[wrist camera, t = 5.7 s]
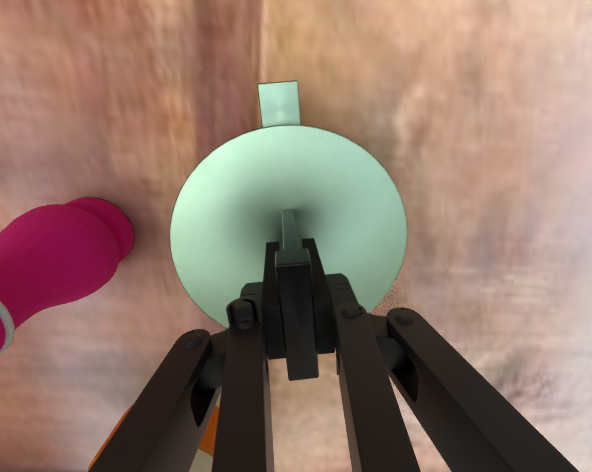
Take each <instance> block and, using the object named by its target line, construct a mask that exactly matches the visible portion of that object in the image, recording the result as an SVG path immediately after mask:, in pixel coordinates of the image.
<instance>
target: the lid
mask: <svg viewBox="0 0 592 472" xmlns="http://www.w3.org/2000/svg"><path fill="white" fill-rule="evenodd" d="M307 238H314V239H315V243H316V246H317V249H318V253H319V256H320V259H321V263H322V266H323V269H324V273H325V275H326V274H336V273H342V274H343V275H345V276H346V277H347V278H348V280H349V282H350V285H351V287H352V289H353V292H354V294H355V296H356V298H357V301H358V303H359V305H361V306H363V307H364V308H365V310H366V311H367V313H370V312H371V311H372V310H373V309H374V308H375V307H376V306H377V305H378V304H379V303H380V302H381V301H382V299H383V298H384V297H385V295H386V294H387V293H388V292H389V290H390V288H391V287H392V285H393V283H394V282H395V280H396V278H397V276H398V273H399V271H400V269H401V266H402V263H403V259H404V255H405V251H406V243H407V221H406V214H405V209H404V206H403V202H402V199H401V196H400V194H399V191H398V189H397V187H396V185H395V183H394V181H393V180H392V178H391V177H390V175H389V174H388V172H387V171H386V169H385V168H384V167H383V166H382V165H381V164H380V163H379V161H378V160H377V159H376V158H375V157H374V156H373V155H371V154H370V153H369V152H368V151H367V150H365V149H364V148H363V147H361V146H360V145H358V144H357V143H355V142H353V141H352V140H350V139H348V138H346V137H344V136H342V135H339V134H337V133H335V132H332V131H329V130H325V129H321V128H318V127H314V126H305V125H297V124H292V125H274V126H268V127H262V128H258V129H255V130H252V131H249V132H245V133H243V134H241V135H239V136H237V137H235V138H232V139H230V140H228V141H227V142H225V143H224V144H222V145H221V146H219V147H217V148H216V149H214V150H213V151H212V152H211V153H210V154H209V155H207V156H206V157H205V158H204V159H203V160H202V161H201V162H200V163H199V164H198V165H197V166H196V168H195V169H194V170H193V171H192V172H191V174H190V175H189V176H188V178H187V180H186V181H185V183H184V185H183V186H182V188H181V190H180V192H179V195H178V197H177V199H176V202H175V205H174V209H173V213H172V217H171V224H170V249H171V254H172V259H173V263H174V266H175V269H176V272H177V275H178V277H179V279H180V281H181V283H182V285H183V287H184V289H185V290H186V292H187V293H188V294H189V296H190V297H191V299H192V300H193V301H194V302H195V303H196V305H197V306H198V307H199V308H200V309H201V310H202V311H203V312H204V313H206V314H207V315H208V316H209V317H210V318H211V319H213V320H214V321H216V322H217V323H219V324H220V325H222V326H223V327H225V328H227V329H228V328H229V322H228V317H227V312H226V307H227V305H228V304H229V303H230V302H231V301H233V300H235V299H238V298H240V293H241V289H242V288H243V287H244V285H245V284H246V283H253V282H263V275H264V263H265V252H266V242H277V241H279V247H280V251H276V252H275V271H276V279H277V287H278V296H279V301H280V310H281V318H282V326H283V334H284V343H285V351H286V362H287V370H288V378H289V381H293V380H302V379H311V378H318V377H319V370H318V356H317V346H316V331H315V317H314V302H313V283H312V268H311V260H310V256H309V251H308V249H307V248H302V239H307Z"/></svg>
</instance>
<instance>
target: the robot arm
mask: <svg viewBox="0 0 592 472" xmlns="http://www.w3.org/2000/svg"><path fill="white" fill-rule="evenodd" d="M302 248H307V249H308V251H309V256H310V260H311V268H312V283H313V302H314V317H315V331H316V346H317V354H327V353H335V349H336V365H337V375H338V376H339V383H340V390H341V396H342V403H343V410H344V417H345V424H346V431H347V437H348V444H349V451H350V458H351V465H352V472H421V471H420V468H419V465H418V462H417V459H416V457H415V454H414V451H413V448H412V445H411V442H410V439H409V436H408V433H407V430H406V427H405V424H404V421H403V418H402V415H401V412H400V409H399V406H398V403H397V400H396V397H395V394H394V391H393V388H392V385H391V382H390V379H389V376H390V378H391V379H392V381H393V383H394V384H395V386H396V387H397V389H398V390H399V392H400V393H401V395H402V396H403V398H404V399H405V401H406V402H407V404H408V406H409V407H410V409H411V410H412V412H413V413H414V415H415V416H416V418H417V419H418V421H419V422H420V424H421V425H422V427H423V429H424V430H425V432H426V433H427V435H428V436H429V438H430V439H431V441H432V442H433V444H434V445H435V447H436V448H437V450H438V452H439V453H440V455H441V456H442V458H443V459H444V461H445V462H446V464H447V465H448V467H449V468H450V470H451V471H452V472H579V471H578V470H577V469H576V468H575V467H574V466H573V465H572V464H571V463H570V462H569V461H568V460H567V459H566V458H565V457H564V456H563V455H562V454H561V453H560V452H559V451H558V450H557V449H556V448H555V447H554V446H553V445H552V444H551V443H550V442H549V441H548V440H547V439H546V438H545V437H544V436H543V435H541V434H540V433H539V432H538V431H537V430H536V429H535V428H534V427H533V426H532V425H531V424H530V423H529V422H528V421H527V420H526V419H525V418H524V417H523V416H522V415H521V414H520V413H519V412H518V411H517V410H516V409H515V408H514V407H513V406H512V405H511V404H510V403H509V402H508V401H507V400H506V399H505V398H504V397H503V396H502V395H501V394H500V393H499V392H498V391H497V390H496V389H495V388H494V387H493V386H492V385H491V384H490V383H489V382H488V381H487V380H486V379H485V378H484V377H483V376H482V375H480V374H479V373H478V372H477V371H476V370H475V369H474V368H473V367H472V366H471V365H470V364H469V363H468V362H467V361H466V360H465V359H464V358H463V357H462V356H461V355H460V354H459V353H458V352H457V351H456V350H455V349H454V348H453V347H452V346H451V345H450V344H449V343H448V342H447V341H446V340H445V339H444V338H443V337H442V336H441V335H440V334H439V333H438V332H437V331H436V330H435V329H434V328H433V327H432V326H431V325H430V324H429V323H428V322H427V321H426V320H425V319H424V318H423V317H422V316H421V315H419V314H418V313H417V312H415V311H414V310H411V309H408V308H402V307H401V308H394V309H391V310H390V311H389V312H388V313H387V317H385V316H377V315H372V314H369V313H367V311H366V310H365V308H364V307H363V306H361V305H359V303H358V301H357V298H356V296H355V294H354V292H353V289H352V287H351V285H350V282H349V280H348V278H347V277H346V276H345V275H343V274H342V273H336V274H326V275H325V273H324V269H323V266H322V263H321V259H320V256H319V253H318V249H317V246H316V243H315V239H314V238H307V239H302ZM276 251H280V247H279V241H277V242H266V252H265V263H264V275H263V282H253V283H246V284H245V285H244V287H243V288H242V289H241V293H240V298H238V299H235V300H233V301H231V302H230V303H229V304H228V305H227V307H226V312H227V317H228V322H229V328H228V329H226V330H225V331H222V332H220V333H217V334H214V335H211V336H210V334H209V332H208V331H206V330H203V329H196V330H192V331H189V332H186V333H185V334H183V335H182V336H181V337H180V338H179V339H178V340H177V341H176V342H175V344H174V345H173V347H172V348H171V350H170V351H169V353H168V354H167V356H166V357H165V359H164V360H163V362H162V363H161V365H160V366H159V368H158V369H157V371H156V372H155V374H154V375H153V377H152V378H151V379H150V381H149V382H148V384H147V385H146V387H145V388H144V390H143V391H142V393H141V394H140V396H139V397H138V399H137V400H136V402H135V403H134V405H133V406H132V408H131V409H130V411H129V412H128V413H127V415H126V416H125V418H124V419H123V421H122V422H121V424H120V425H119V427H118V428H117V430H116V431H115V433H114V434H113V436H112V437H111V439H110V440H109V442H108V443H107V445H106V446H105V448H104V449H103V450H102V452H101V453H100V455H99V456H98V458H97V459H96V461H95V462H94V464H93V465H92V467H91V468H90V470H89V471H88V472H189V470H190V468H191V465H192V463H193V460H194V458H195V455H196V453H197V450H198V448H199V445H200V443H201V440H202V438H203V435H204V432H205V430H206V427H207V425H208V422H209V420H210V417H211V415H212V412H213V410H214V407H215V405H216V402H217V400H218V397H219V395H220V392H221V397H220V405H219V413H218V421H217V430H216V438H215V446H214V454H213V462H212V470H211V472H275V471H274V453H273V436H272V418H271V401H270V383H269V367H268V361H267V355H268V360H270V359H280V358H286V351H285V343H284V334H283V326H282V318H281V310H280V301H279V296H278V287H277V279H276V271H275V252H276ZM387 373H388V374H387ZM388 375H389V376H388ZM221 388H222V389H221Z"/></svg>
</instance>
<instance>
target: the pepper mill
mask: <svg viewBox="0 0 592 472" xmlns="http://www.w3.org/2000/svg"><path fill="white" fill-rule="evenodd" d="M133 244H134V232H133V228H132V225H131V223H130V221H129V219H128V218H127V217H126V216H125V214H124V213H123V212H122V211H121V210H120V209H119V208H117V207H116V206H114V205H113V204H111V203H109V202H107V201H104V200H101V199H97V198H90V197H85V198H79V199H76V200H73V201H71V202H69V203H66V204H64V205H60V204H54V205H46V206H41V207H37V208H35V209H32V210H30V211H28V212H26V213H25V214H23V215H21V216H19V217H18V218H16V219H14V220H13V221H12V222H11V223H10V224H9V225H8V226H7V227H6V228H5V229H4V230H3V231H1V233H0V354H1V353H3V352H4V351H5V350H6V349H7V348H8V347H9V346H10V344H11V343H12V341H13V338H14V332H15V329H16V328H17V327H18V326H20V325H21V324H22V323H23V322H24V321H26V320H27V319H28V318H30V317H31V316H33V315H34V314H35V313H37V312H39V311H41V310H43V309H46V308H49V307H53V306H57V305H61V304H65V303H69V302H73V301H76V300H79V299H81V298H83V297H86V296H88V295H90V294H92V293H94V292H95V291H97V290H98V289H99V288H101V287H102V286H103V285H104V284H106V283H107V282H108V281H109V280H110V279H111V278H112V276H113V275H114V273H115V272H116V269H117V266H118V263H119V262H120V261H121V260H122V259H124V258H125V257H126V256H127V255H128V254H129V252H130V251H131V249H132V247H133Z"/></svg>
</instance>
